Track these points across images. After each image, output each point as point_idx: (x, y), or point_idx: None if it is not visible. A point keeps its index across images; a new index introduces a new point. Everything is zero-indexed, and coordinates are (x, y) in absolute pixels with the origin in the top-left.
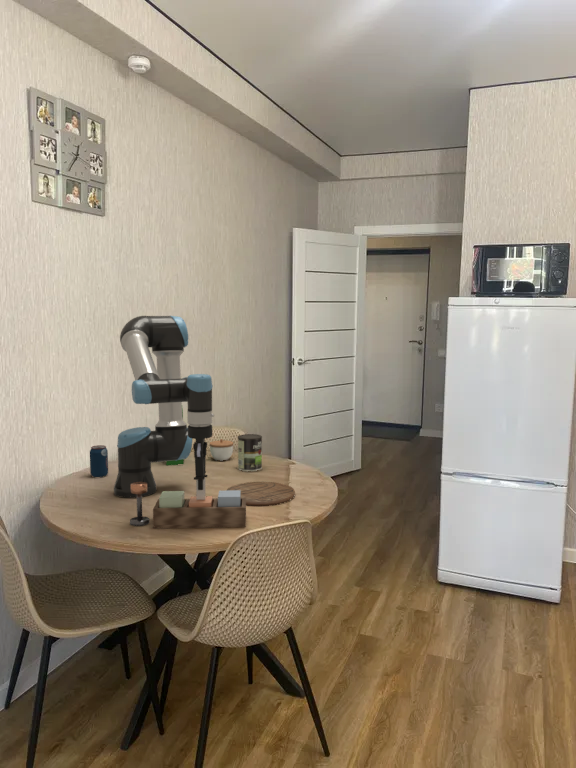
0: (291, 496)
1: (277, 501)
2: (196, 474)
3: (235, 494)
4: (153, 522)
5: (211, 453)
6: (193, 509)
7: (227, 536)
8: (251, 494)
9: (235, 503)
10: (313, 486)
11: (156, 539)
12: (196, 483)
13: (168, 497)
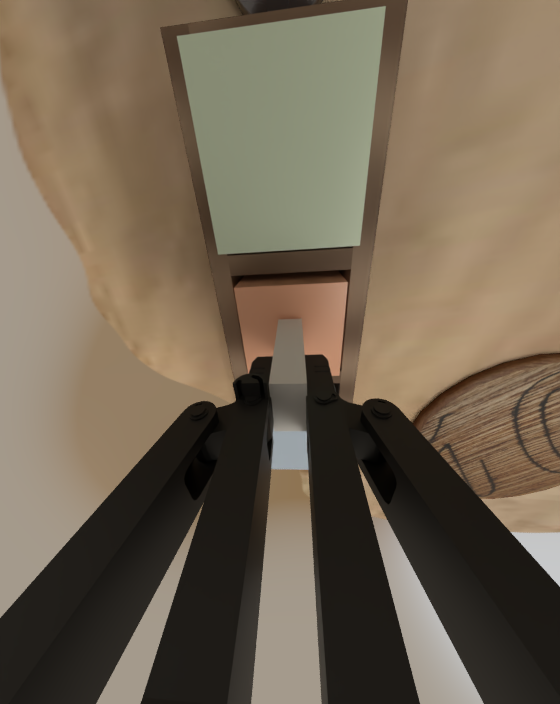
0: None
1: None
2: (160, 445)
3: (284, 459)
4: None
5: None
6: (220, 305)
7: (189, 377)
8: (494, 427)
9: None
10: (517, 514)
11: (97, 157)
12: (271, 366)
13: (201, 144)
